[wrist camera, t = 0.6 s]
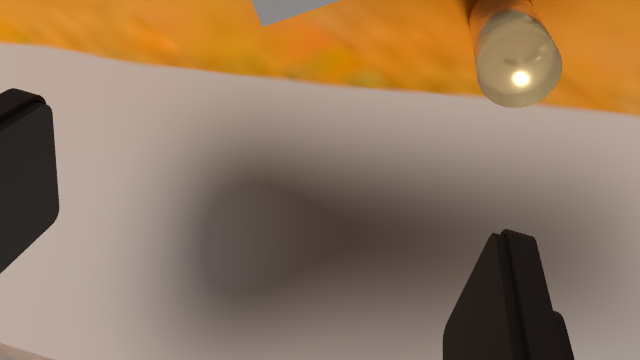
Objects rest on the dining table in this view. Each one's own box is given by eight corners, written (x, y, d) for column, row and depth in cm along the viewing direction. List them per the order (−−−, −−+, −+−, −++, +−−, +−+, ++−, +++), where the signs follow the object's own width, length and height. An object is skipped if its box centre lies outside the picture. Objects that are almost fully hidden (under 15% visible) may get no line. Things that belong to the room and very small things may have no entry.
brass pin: (527, -22, 30) (555, 20, 23) (537, 39, 32) (567, 96, 24) (462, -1, 32) (469, 44, 24) (476, 56, 33) (486, 116, 26)
